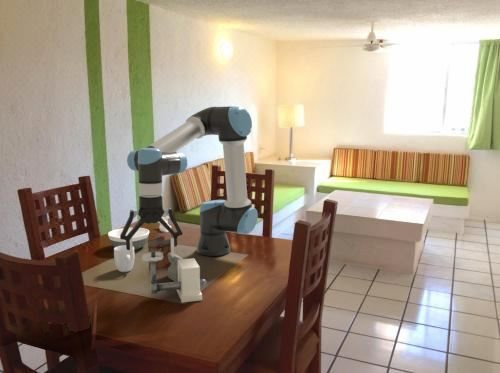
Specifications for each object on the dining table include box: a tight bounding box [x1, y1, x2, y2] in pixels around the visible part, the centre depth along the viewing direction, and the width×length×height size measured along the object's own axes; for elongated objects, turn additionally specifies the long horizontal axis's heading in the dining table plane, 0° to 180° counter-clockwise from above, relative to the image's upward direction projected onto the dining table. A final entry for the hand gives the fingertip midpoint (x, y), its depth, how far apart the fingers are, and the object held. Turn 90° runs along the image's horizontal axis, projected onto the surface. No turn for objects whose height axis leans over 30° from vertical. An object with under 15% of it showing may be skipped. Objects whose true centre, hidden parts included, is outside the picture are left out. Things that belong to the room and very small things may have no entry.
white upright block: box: [176, 257, 203, 304], centre depth 159 cm, size 7×12×11 cm, turn 18°
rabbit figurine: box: [158, 215, 172, 233], centre depth 241 cm, size 12×8×10 cm, turn 23°
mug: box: [113, 245, 135, 273], centre depth 182 cm, size 11×8×9 cm
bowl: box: [107, 226, 150, 251], centre depth 211 cm, size 19×19×8 cm
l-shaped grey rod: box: [141, 250, 208, 295], centre depth 157 cm, size 22×7×16 cm, turn 108°
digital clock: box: [167, 252, 184, 282], centre depth 175 cm, size 14×8×9 cm, turn 25°
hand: (152, 257), depth 154 cm, fingers open, 13 cm apart
